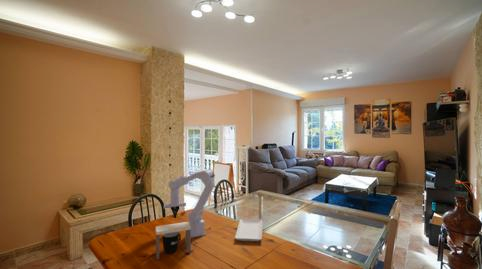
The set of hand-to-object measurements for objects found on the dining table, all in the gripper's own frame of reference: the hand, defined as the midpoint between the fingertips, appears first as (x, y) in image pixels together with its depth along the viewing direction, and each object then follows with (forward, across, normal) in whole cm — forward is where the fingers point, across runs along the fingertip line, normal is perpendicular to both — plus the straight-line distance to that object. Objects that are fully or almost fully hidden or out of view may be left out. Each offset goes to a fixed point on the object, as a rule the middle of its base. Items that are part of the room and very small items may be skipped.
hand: (174, 217), depth 154 cm
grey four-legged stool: (+9, +4, +28) cm, 30 cm away
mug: (+10, +4, +25) cm, 27 cm away
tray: (+10, -47, +21) cm, 52 cm away
